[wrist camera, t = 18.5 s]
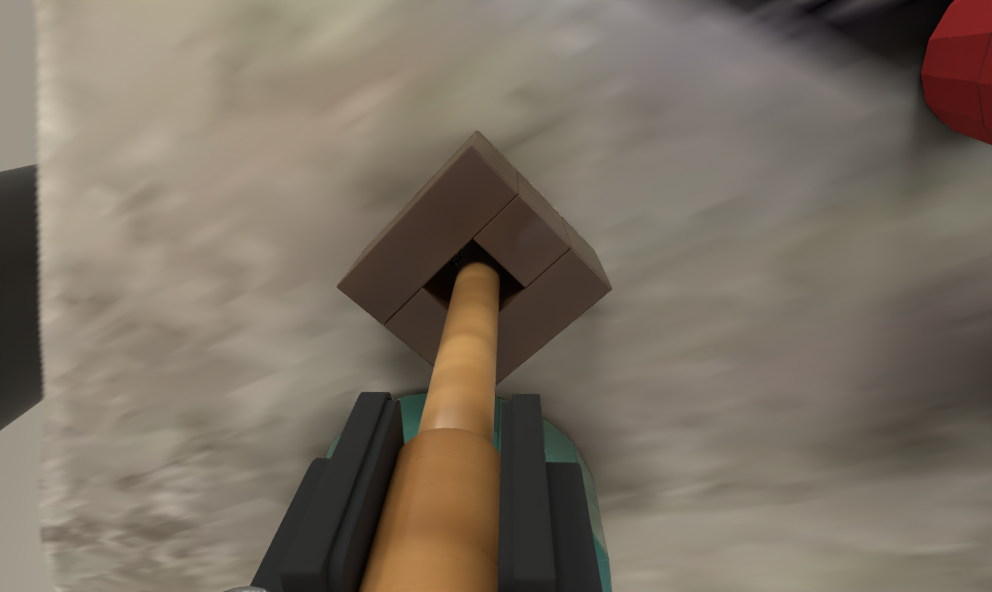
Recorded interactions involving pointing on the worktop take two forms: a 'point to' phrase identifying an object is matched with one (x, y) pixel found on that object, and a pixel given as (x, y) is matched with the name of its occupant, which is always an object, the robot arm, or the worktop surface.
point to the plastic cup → (961, 69)
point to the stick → (449, 458)
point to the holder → (497, 229)
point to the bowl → (555, 451)
